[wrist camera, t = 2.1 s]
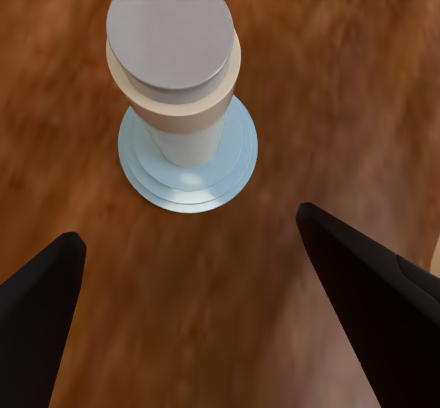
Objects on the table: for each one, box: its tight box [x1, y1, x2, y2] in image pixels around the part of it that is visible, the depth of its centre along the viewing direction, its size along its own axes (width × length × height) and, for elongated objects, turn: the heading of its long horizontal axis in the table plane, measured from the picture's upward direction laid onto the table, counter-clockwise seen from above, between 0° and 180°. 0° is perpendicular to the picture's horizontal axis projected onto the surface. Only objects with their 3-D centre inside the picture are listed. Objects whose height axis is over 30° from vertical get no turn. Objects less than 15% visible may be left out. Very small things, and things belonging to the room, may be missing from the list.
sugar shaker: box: [106, 0, 241, 168], centre depth 14 cm, size 6×6×11 cm
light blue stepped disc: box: [118, 95, 258, 213], centre depth 21 cm, size 14×14×3 cm
